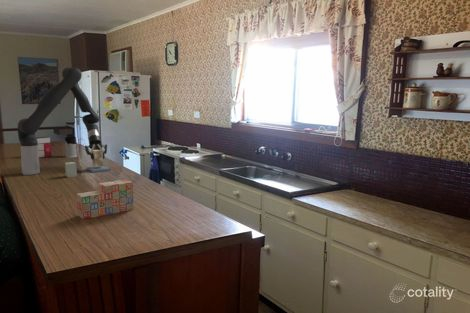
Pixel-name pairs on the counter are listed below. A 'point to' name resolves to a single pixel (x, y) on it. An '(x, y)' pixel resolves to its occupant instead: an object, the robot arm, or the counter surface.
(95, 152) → the birch block
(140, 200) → the counter surface
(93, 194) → the stack of blocks
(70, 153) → the glass holder
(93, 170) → the slate board
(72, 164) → the sage block
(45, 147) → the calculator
